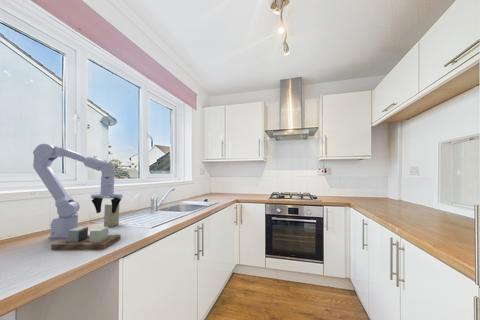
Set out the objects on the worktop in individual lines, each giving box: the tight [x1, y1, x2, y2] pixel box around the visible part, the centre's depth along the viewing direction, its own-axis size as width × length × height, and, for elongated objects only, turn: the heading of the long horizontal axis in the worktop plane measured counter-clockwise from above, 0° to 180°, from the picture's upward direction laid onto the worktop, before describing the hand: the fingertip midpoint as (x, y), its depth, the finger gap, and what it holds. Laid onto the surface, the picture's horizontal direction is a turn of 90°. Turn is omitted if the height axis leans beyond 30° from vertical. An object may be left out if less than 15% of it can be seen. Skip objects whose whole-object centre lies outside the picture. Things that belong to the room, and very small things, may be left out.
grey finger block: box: [68, 226, 89, 243], centre depth 86 cm, size 4×6×6 cm, turn 2°
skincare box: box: [103, 202, 120, 228], centre depth 116 cm, size 6×4×12 cm
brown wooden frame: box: [51, 234, 122, 251], centre depth 86 cm, size 20×12×2 cm, turn 92°
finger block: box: [89, 226, 109, 242], centre depth 86 cm, size 4×6×6 cm, turn 2°
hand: (106, 212), depth 104 cm, fingers open, 7 cm apart
